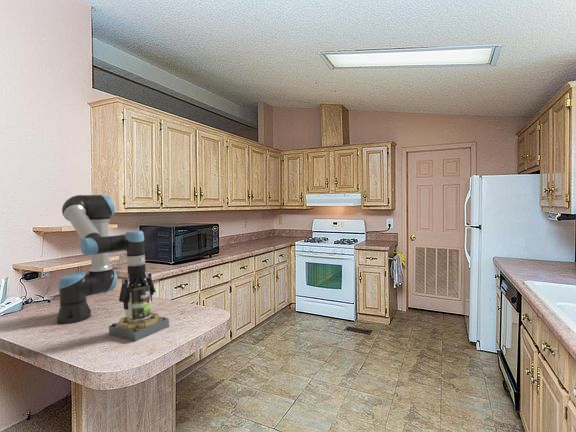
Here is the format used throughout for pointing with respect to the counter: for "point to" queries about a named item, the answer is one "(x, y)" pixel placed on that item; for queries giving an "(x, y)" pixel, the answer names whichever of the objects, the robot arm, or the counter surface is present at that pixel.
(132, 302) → the coffee can
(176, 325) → the counter surface
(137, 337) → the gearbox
